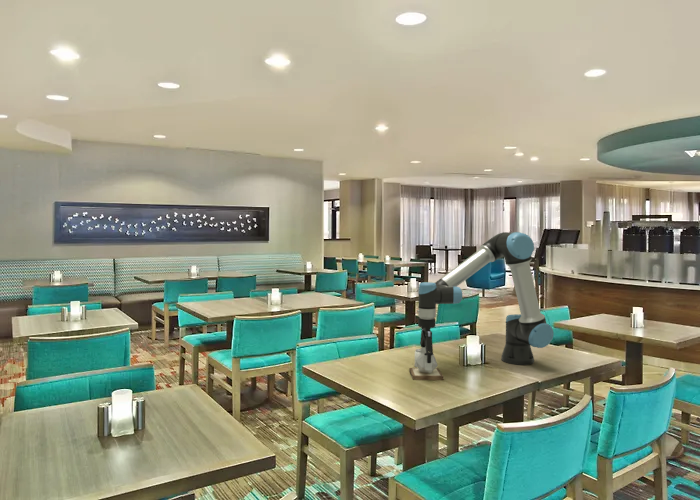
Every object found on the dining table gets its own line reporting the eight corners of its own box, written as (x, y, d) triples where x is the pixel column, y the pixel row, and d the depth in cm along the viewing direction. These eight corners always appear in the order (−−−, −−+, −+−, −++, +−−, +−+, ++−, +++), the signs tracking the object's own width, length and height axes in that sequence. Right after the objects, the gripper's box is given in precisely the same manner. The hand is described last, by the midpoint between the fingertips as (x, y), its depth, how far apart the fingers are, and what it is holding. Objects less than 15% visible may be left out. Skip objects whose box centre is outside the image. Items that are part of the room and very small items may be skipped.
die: (440, 372, 222) (431, 352, 227) (439, 367, 215) (430, 346, 220) (422, 379, 223) (414, 358, 228) (420, 374, 215) (412, 352, 220)
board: (438, 371, 228) (438, 367, 228) (443, 379, 215) (443, 376, 215) (409, 371, 228) (409, 367, 228) (413, 379, 215) (413, 375, 215)
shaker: (422, 365, 239) (422, 348, 238) (423, 367, 235) (424, 350, 234) (414, 365, 239) (414, 348, 238) (415, 367, 235) (415, 350, 234)
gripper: (414, 313, 233) (413, 358, 234) (422, 322, 208) (421, 373, 209) (430, 313, 233) (430, 358, 234) (440, 323, 208) (439, 374, 209)
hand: (426, 365), depth 221 cm, fingers open, 13 cm apart
